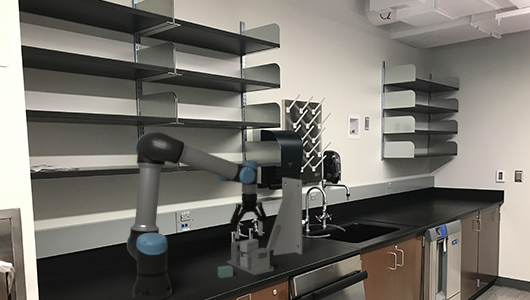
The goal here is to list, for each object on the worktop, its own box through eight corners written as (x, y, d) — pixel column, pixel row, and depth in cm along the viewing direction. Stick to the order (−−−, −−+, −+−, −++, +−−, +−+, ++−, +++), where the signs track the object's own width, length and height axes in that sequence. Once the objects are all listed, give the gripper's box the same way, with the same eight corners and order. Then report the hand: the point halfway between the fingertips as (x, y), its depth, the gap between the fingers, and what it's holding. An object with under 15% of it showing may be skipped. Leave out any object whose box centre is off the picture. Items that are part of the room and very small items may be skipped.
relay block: (220, 278, 186) (220, 269, 186) (217, 275, 190) (217, 266, 190) (233, 276, 188) (232, 267, 188) (230, 274, 192) (230, 265, 192)
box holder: (254, 275, 190) (254, 253, 190) (227, 262, 209) (227, 242, 209) (273, 270, 196) (273, 249, 196) (245, 259, 216) (245, 239, 215)
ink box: (251, 261, 207) (251, 238, 207) (259, 263, 204) (258, 239, 204) (239, 265, 201) (239, 241, 201) (247, 267, 198) (247, 242, 197)
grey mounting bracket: (261, 248, 236) (261, 178, 236) (283, 245, 243) (283, 177, 242) (278, 257, 219) (278, 181, 218) (302, 254, 225) (302, 180, 224)
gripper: (231, 195, 192) (230, 241, 192) (274, 192, 206) (274, 235, 206) (223, 193, 198) (222, 238, 198) (265, 190, 212) (265, 232, 213)
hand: (248, 236), depth 202 cm, fingers open, 13 cm apart
